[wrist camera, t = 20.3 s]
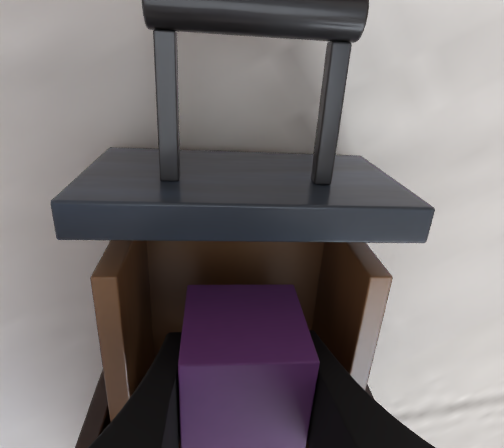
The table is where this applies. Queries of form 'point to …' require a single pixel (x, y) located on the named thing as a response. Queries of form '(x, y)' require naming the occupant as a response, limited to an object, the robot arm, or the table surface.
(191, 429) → the block
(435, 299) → the table surface
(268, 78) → the table surface
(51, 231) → the table surface
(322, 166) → the drawer
